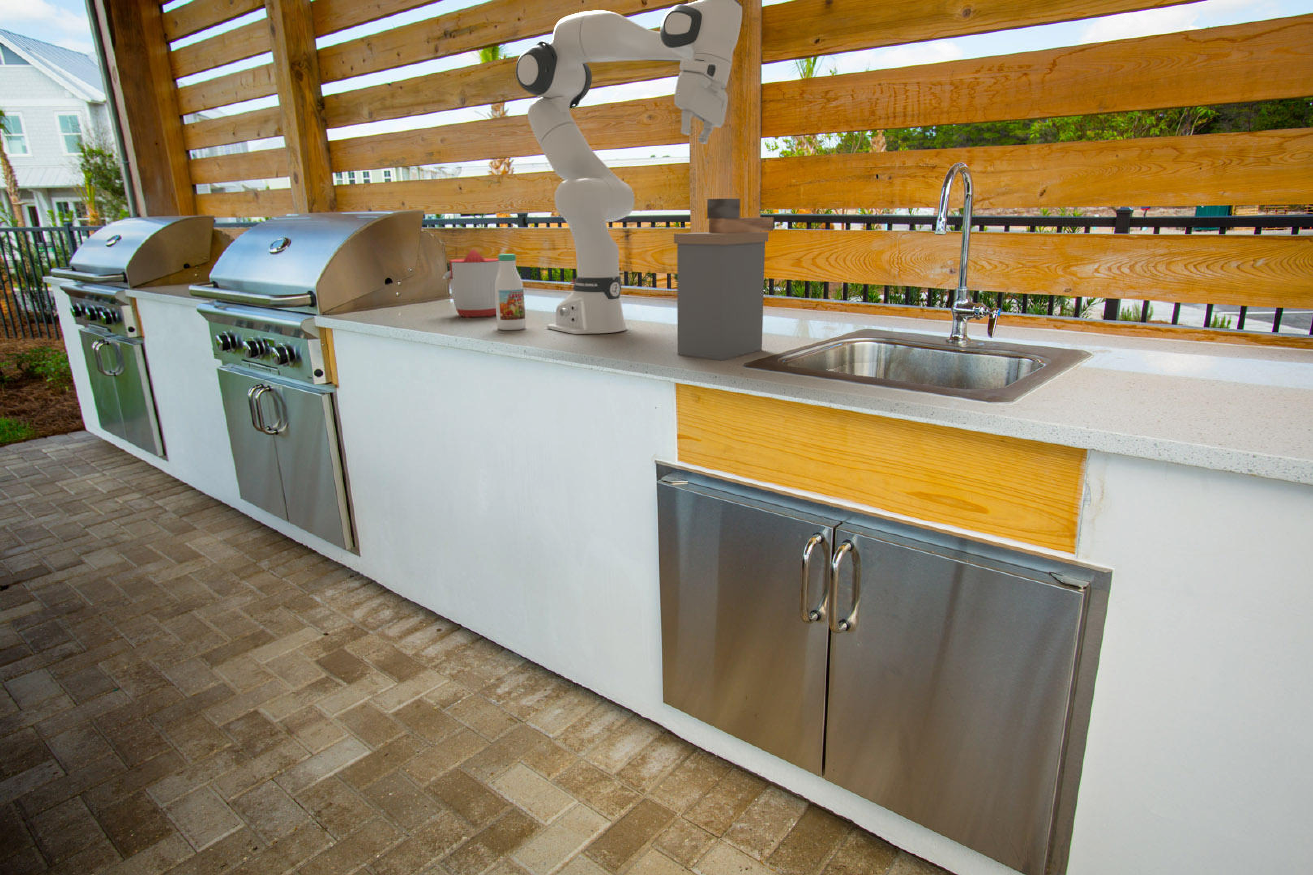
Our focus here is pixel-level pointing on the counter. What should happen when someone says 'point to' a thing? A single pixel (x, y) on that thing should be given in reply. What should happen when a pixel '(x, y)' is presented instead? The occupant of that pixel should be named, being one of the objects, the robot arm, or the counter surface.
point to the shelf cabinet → (720, 293)
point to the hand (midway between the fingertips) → (693, 138)
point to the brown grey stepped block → (733, 218)
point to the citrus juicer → (473, 284)
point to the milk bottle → (509, 295)
